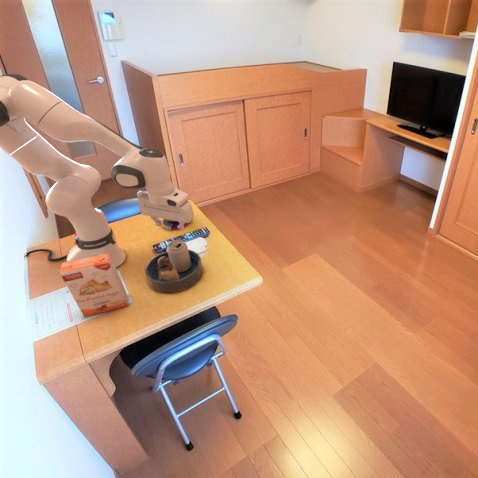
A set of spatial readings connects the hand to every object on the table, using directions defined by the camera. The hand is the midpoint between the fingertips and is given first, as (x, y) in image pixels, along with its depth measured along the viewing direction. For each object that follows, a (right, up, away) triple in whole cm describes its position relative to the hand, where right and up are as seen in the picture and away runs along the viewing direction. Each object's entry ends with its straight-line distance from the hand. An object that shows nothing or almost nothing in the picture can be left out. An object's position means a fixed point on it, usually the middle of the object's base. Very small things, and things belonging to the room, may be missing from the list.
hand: (170, 227), depth 131 cm
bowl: (-1, -19, +9) cm, 21 cm away
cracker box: (-21, -29, -5) cm, 36 cm away
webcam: (-14, +3, +39) cm, 41 cm away
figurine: (-2, -21, +5) cm, 22 cm away
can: (0, -16, +12) cm, 20 cm away
